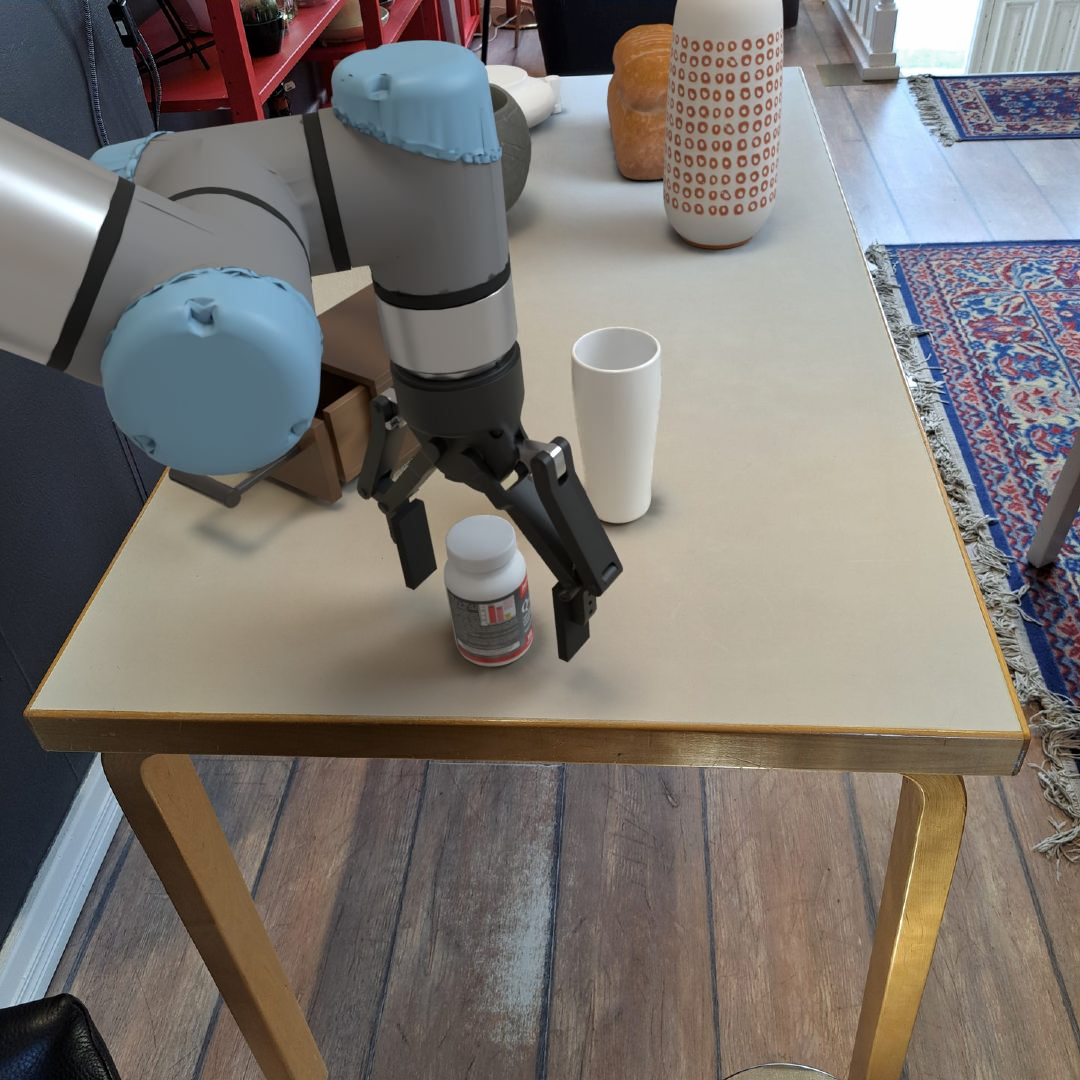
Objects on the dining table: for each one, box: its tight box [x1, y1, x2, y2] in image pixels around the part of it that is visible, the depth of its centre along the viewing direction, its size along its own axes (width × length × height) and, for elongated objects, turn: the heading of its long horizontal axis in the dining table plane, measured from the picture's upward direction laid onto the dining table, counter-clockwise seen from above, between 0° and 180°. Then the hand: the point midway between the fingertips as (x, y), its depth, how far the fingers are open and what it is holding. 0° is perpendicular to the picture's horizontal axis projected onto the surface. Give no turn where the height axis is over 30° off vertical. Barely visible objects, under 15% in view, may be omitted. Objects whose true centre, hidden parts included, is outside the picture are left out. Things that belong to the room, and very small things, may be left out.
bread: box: [606, 23, 673, 181], centre depth 139 cm, size 14×26×15 cm, turn 0°
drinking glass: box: [570, 326, 663, 524], centre depth 77 cm, size 7×7×15 cm
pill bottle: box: [443, 514, 534, 667], centre depth 68 cm, size 6×6×10 cm
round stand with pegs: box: [485, 64, 563, 129], centre depth 155 cm, size 24×24×7 cm
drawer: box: [167, 369, 372, 509], centre depth 85 cm, size 22×11×8 cm, turn 145°
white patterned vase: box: [662, 0, 784, 250], centre depth 111 cm, size 13×13×28 cm
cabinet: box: [316, 282, 422, 472], centre depth 92 cm, size 15×13×10 cm
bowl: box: [489, 83, 532, 213], centre depth 124 cm, size 21×21×15 cm
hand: (494, 611), depth 70 cm, fingers open, 13 cm apart
